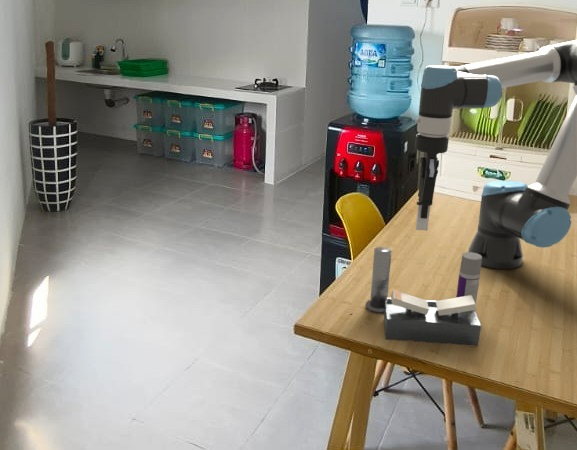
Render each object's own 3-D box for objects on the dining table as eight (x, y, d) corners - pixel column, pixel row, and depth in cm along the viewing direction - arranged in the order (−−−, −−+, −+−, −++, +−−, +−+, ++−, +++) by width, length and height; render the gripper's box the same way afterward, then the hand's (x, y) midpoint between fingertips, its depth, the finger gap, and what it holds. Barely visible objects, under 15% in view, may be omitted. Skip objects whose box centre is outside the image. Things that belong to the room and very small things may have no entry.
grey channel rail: (470, 325, 147) (474, 301, 145) (478, 345, 139) (481, 320, 136) (383, 319, 149) (385, 295, 146) (385, 339, 140) (387, 314, 138)
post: (389, 303, 157) (395, 246, 152) (391, 314, 151) (396, 256, 146) (365, 301, 157) (369, 244, 152) (365, 312, 152) (370, 254, 147)
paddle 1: (424, 305, 144) (426, 300, 143) (426, 314, 140) (429, 309, 139) (390, 295, 144) (393, 289, 143) (392, 304, 140) (394, 298, 139)
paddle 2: (472, 300, 142) (471, 295, 142) (476, 309, 138) (475, 304, 138) (436, 306, 144) (435, 301, 143) (438, 315, 140) (437, 310, 139)
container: (451, 309, 155) (458, 252, 150) (470, 308, 155) (478, 251, 150) (457, 318, 150) (465, 259, 145) (477, 318, 151) (485, 259, 146)
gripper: (413, 127, 155) (403, 219, 163) (419, 138, 143) (408, 237, 150) (445, 129, 154) (433, 221, 162) (453, 140, 142) (440, 239, 150)
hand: (421, 229), depth 156 cm, fingers closed
